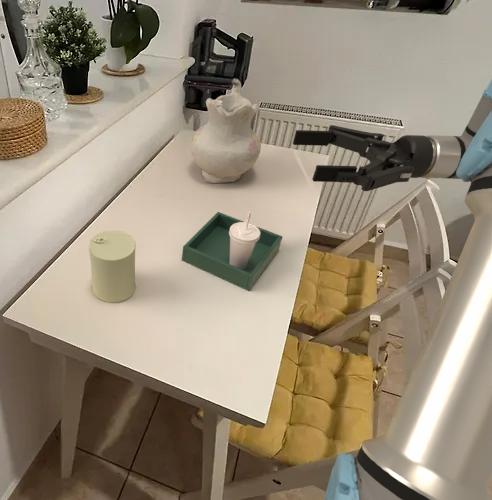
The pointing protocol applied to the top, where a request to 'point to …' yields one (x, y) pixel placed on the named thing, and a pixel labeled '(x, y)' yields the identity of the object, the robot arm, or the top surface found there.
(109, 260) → the can
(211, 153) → the ceramic pitcher
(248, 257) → the smoothie
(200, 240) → the bin
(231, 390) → the top surface
